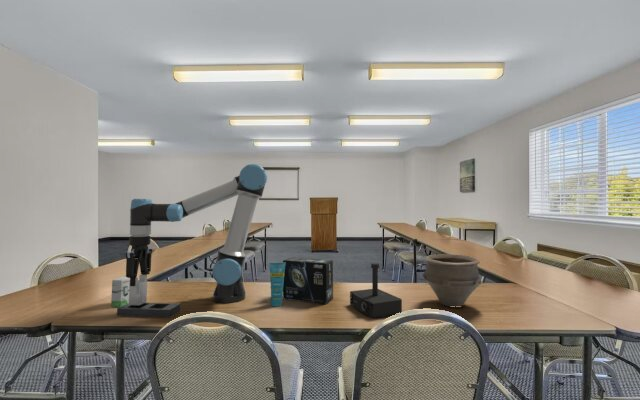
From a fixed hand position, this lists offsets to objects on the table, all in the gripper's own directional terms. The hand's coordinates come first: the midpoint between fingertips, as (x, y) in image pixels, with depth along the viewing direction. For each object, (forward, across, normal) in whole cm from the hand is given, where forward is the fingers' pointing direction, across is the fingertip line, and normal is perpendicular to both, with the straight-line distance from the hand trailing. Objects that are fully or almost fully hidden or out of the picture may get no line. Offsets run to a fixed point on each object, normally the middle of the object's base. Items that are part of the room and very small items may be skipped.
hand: (138, 291), depth 122 cm
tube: (+8, -15, +55) cm, 58 cm away
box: (+8, -26, +68) cm, 73 cm away
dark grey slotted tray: (+9, 0, +5) cm, 10 cm away
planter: (+8, -22, +135) cm, 137 cm away
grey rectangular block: (+5, 0, 0) cm, 5 cm away
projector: (+8, -13, +98) cm, 99 cm away
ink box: (+9, -10, -14) cm, 19 cm away
